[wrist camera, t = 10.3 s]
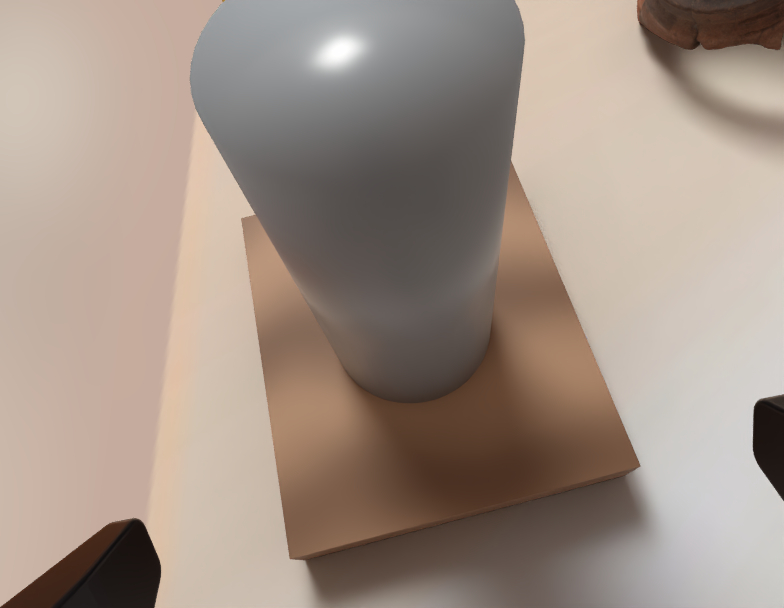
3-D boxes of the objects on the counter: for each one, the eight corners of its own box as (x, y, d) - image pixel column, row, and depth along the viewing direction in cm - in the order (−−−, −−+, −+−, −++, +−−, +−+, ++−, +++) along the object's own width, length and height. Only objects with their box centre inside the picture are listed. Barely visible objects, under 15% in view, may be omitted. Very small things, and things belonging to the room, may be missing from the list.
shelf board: (624, 475, 21) (640, 466, 19) (304, 560, 21) (289, 558, 19) (502, 177, 27) (505, 149, 25) (255, 242, 27) (241, 218, 25)
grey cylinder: (524, 332, 21) (600, 38, 10) (401, 437, 20) (316, 249, 8) (419, 232, 24) (378, -102, 12) (304, 321, 22) (133, 49, 11)
